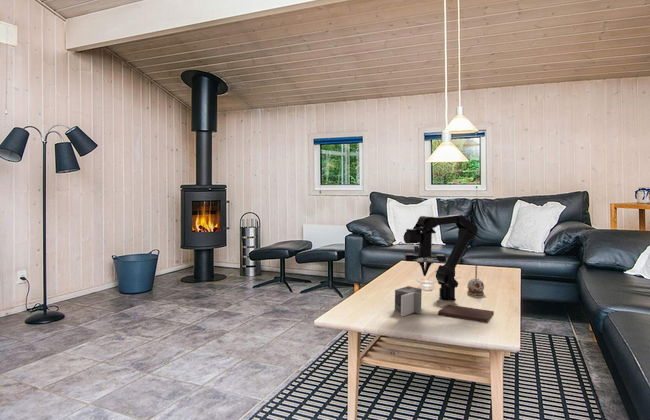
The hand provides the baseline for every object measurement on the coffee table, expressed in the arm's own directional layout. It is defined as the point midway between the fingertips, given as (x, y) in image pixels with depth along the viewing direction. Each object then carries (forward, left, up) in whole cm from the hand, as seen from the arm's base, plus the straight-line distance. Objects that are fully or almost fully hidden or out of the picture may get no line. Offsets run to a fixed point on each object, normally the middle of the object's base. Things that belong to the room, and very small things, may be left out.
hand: (424, 275), depth 202 cm
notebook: (-15, +19, -13) cm, 27 cm away
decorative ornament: (-28, -17, -12) cm, 35 cm away
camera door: (+9, +24, -12) cm, 28 cm away
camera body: (+9, +15, -12) cm, 21 cm away
